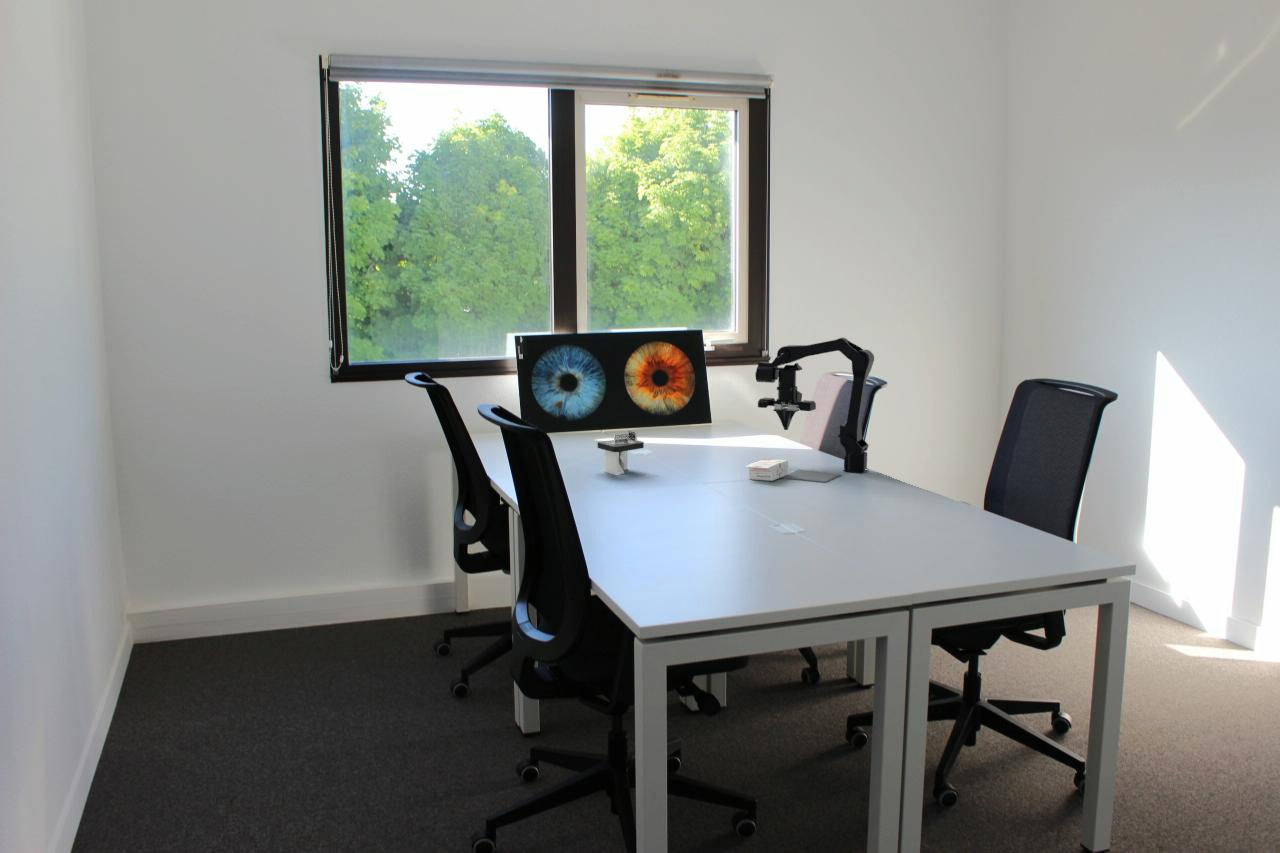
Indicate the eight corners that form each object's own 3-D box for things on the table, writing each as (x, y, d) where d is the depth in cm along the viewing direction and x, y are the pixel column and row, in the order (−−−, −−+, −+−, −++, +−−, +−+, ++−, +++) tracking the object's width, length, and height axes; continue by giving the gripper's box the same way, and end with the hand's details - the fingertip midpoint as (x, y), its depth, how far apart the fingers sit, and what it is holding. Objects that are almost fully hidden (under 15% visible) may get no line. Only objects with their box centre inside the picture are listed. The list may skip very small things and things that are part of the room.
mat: (840, 475, 349) (840, 473, 349) (825, 482, 337) (825, 481, 337) (798, 470, 356) (798, 469, 356) (781, 478, 344) (781, 476, 344)
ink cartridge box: (765, 473, 352) (744, 481, 340) (764, 458, 352) (743, 465, 340) (789, 475, 348) (768, 482, 336) (788, 459, 347) (768, 466, 335)
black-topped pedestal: (607, 485, 336) (606, 442, 334) (564, 471, 357) (564, 431, 355) (680, 475, 351) (680, 434, 349) (635, 462, 373) (635, 424, 371)
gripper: (822, 382, 364) (821, 428, 366) (770, 379, 373) (770, 424, 376) (810, 386, 355) (808, 433, 357) (757, 382, 364) (756, 428, 366)
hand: (786, 429), depth 364 cm, fingers closed
